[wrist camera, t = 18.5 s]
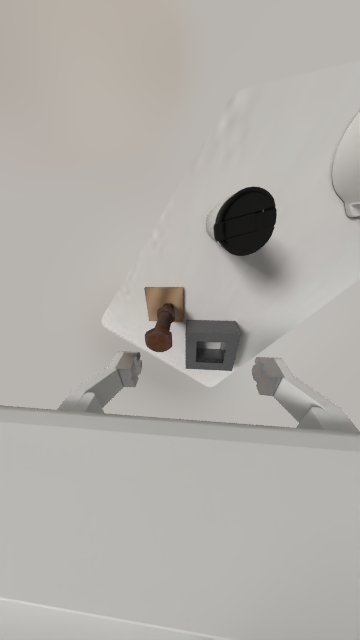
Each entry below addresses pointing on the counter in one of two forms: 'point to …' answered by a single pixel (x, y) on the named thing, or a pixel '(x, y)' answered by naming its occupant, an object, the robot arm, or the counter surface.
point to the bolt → (161, 330)
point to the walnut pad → (164, 301)
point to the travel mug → (243, 221)
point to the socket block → (211, 333)
